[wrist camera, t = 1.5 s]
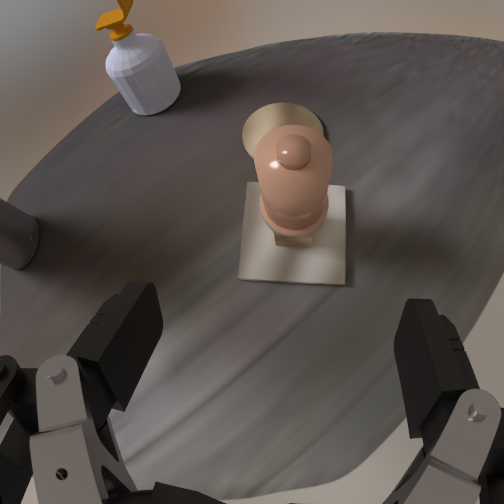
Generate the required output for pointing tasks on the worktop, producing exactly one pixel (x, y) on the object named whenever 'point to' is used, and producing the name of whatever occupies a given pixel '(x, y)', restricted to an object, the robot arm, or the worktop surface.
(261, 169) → the lidded jar
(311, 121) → the mat
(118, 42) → the soap bottle
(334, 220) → the white display stand
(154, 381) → the worktop surface
